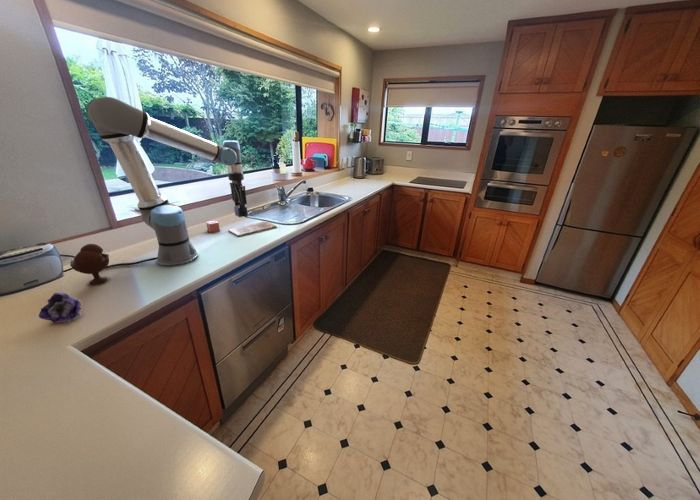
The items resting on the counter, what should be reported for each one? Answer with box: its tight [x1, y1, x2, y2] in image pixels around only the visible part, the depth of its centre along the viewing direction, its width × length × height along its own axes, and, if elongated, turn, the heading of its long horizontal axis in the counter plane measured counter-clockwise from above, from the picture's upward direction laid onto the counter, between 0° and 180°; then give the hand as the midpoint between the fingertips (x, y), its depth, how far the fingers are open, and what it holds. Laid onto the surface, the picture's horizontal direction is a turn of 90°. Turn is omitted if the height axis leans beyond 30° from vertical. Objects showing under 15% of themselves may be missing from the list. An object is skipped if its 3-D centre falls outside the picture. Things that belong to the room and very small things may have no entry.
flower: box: [38, 292, 82, 324], centre depth 86 cm, size 9×9×10 cm
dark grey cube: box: [233, 205, 249, 218], centre depth 155 cm, size 5×5×5 cm
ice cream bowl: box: [69, 243, 110, 287], centre depth 103 cm, size 11×11×15 cm
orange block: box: [205, 220, 221, 234], centre depth 159 cm, size 5×5×5 cm
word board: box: [228, 220, 277, 238], centre depth 164 cm, size 24×12×1 cm, turn 135°
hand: (241, 214), depth 156 cm, fingers closed on dark grey cube, 5 cm apart
